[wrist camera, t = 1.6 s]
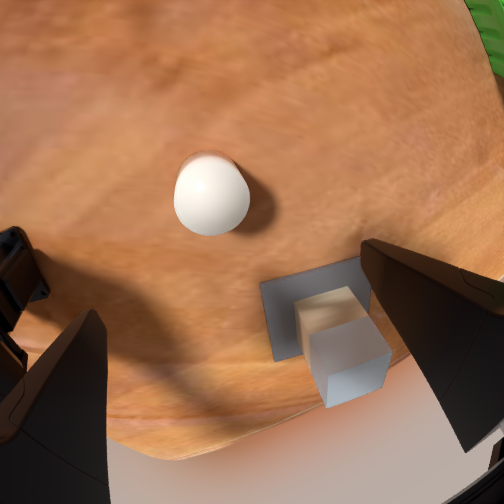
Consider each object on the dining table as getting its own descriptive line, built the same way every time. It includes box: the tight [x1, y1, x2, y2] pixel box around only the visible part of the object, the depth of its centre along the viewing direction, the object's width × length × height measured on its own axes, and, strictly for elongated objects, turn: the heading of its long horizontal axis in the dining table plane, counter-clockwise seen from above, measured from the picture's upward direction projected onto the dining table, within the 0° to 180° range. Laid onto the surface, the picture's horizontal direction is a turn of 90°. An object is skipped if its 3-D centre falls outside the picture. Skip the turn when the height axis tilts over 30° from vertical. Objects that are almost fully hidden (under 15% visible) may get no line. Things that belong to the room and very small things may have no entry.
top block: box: [309, 315, 393, 409], centre depth 21 cm, size 5×5×4 cm
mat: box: [259, 256, 371, 362], centre depth 27 cm, size 10×10×1 cm
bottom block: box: [294, 286, 368, 371], centre depth 25 cm, size 5×5×4 cm
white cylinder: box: [174, 150, 250, 236], centre depth 17 cm, size 4×4×4 cm
